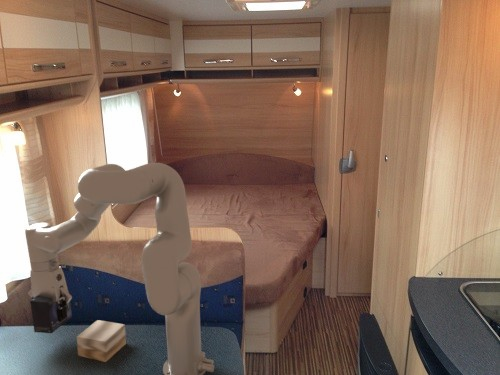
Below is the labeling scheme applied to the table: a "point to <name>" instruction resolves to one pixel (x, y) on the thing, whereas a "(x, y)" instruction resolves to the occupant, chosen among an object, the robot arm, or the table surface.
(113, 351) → the oak slab
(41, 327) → the small box
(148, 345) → the table surface
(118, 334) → the ash slab
